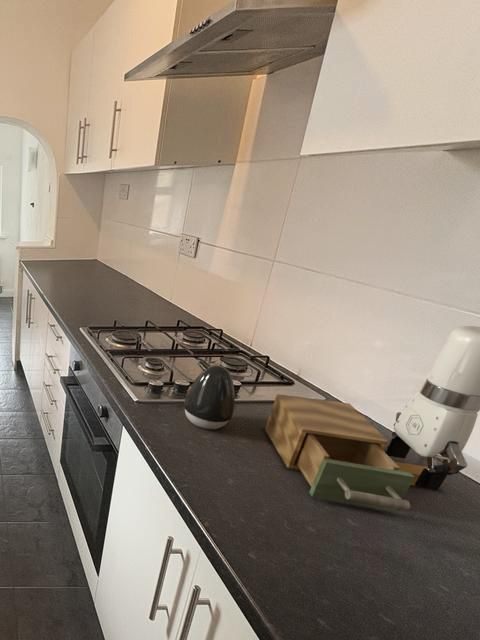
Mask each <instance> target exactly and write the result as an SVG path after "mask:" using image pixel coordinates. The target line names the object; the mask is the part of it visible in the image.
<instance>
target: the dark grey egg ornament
mask: <svg viewBox="0 0 480 640" xmlns="http://www.w3.org/2000/svg"><path fill="white" fill-rule="evenodd" d="M197 365H198V366H199V367H200V369H201V370H202V371H201V373H200V374H199V375H198V376H197V377H196V378H195V379H194V381H193V383H192V384H191V386H190V388H189V389H188V392H187V394H186V396H185V399H184V401H183V408H184V413H185V416H186V418H187V419H188V421H190V423H191V424H192V425H195V426H196V427H199V428H202V429H205V430H218V429H220V428H223V427H224V426H225V425H226V424H228V422H229V421H230V420H232V417H233V415H234V411H235V386H234V381H233V377H232V374H231V372H230V371H229V369H227V368H226V367H225V366H222V365H220V364H219V365H218V364H214V365H210V366H208V365H206V364H205V363H204V362H203V361H202V360H199V361H198V362H197Z"/></svg>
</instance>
